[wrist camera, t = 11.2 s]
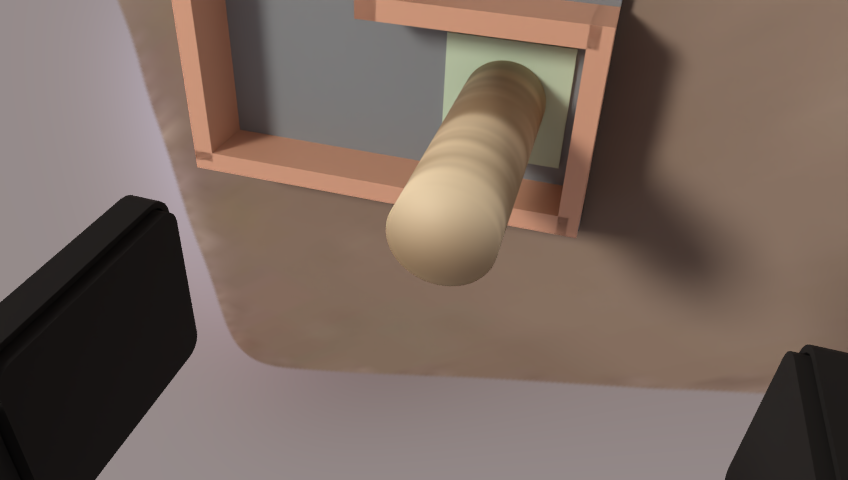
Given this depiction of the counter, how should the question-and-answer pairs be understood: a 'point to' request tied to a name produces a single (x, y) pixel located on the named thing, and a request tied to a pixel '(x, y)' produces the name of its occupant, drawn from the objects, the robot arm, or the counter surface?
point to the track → (389, 89)
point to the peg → (469, 178)
